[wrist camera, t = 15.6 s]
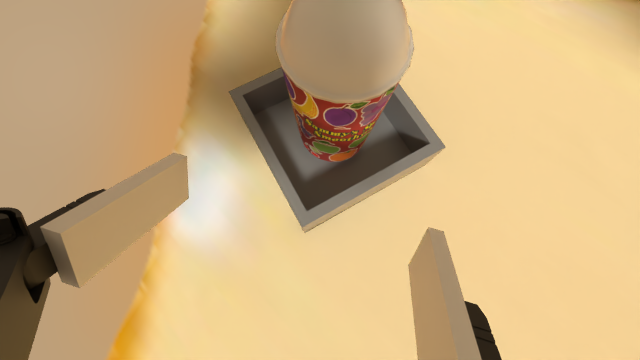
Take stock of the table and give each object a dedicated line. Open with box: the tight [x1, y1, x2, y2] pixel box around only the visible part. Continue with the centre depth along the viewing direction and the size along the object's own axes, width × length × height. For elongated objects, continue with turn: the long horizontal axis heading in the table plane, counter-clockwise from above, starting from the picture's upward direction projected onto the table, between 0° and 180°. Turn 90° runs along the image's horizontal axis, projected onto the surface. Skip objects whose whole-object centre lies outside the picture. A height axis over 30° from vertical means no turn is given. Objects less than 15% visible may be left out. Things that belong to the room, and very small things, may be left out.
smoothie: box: [276, 0, 414, 162], centre depth 20 cm, size 8×8×20 cm
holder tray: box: [229, 67, 445, 233], centre depth 28 cm, size 15×15×5 cm
